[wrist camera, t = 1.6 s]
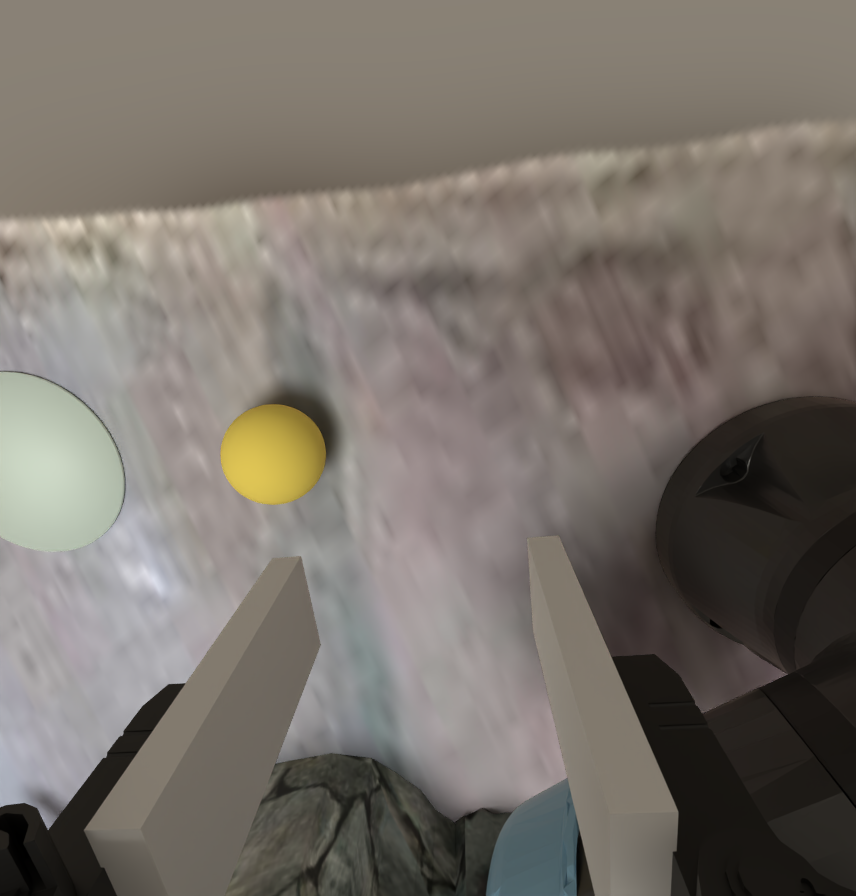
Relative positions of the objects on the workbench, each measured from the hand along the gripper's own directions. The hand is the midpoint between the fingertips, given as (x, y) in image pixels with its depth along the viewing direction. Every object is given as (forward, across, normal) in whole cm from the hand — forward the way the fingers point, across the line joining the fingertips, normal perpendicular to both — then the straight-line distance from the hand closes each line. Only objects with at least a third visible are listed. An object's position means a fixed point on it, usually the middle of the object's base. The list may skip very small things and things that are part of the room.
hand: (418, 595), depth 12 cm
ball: (+14, +9, 0) cm, 17 cm away
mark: (+17, +26, 0) cm, 31 cm away
